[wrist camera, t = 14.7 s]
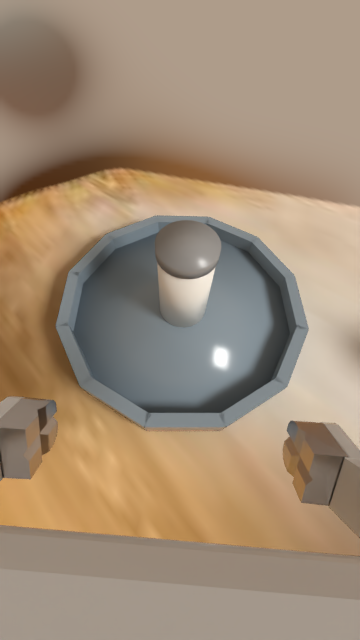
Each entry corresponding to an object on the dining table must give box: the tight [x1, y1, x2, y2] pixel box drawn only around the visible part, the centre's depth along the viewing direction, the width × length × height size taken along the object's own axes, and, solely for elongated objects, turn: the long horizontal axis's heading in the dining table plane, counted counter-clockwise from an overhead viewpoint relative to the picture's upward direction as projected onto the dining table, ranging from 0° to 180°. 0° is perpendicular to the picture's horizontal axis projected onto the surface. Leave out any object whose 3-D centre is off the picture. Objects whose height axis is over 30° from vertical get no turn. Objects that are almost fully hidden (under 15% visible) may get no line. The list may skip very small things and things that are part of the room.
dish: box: [56, 216, 309, 431], centre depth 26 cm, size 22×22×2 cm
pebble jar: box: [155, 220, 221, 327], centre depth 22 cm, size 5×5×8 cm
